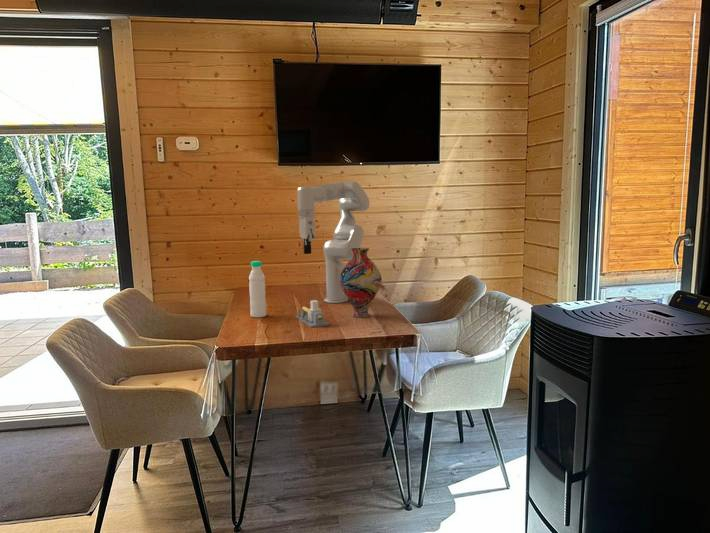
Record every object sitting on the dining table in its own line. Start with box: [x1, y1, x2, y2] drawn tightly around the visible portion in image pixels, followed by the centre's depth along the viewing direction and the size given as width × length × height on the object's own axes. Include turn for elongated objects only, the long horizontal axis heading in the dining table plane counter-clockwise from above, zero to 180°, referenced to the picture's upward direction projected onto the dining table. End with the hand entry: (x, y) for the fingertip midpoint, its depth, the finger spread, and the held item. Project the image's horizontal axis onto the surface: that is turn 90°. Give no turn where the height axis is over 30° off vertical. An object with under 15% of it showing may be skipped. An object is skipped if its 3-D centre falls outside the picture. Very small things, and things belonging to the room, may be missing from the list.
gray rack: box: [295, 306, 330, 328], centre depth 206 cm, size 20×8×5 cm, turn 25°
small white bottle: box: [308, 299, 322, 321], centre depth 203 cm, size 4×5×8 cm
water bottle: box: [248, 260, 267, 318], centre depth 216 cm, size 7×7×25 cm
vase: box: [339, 247, 383, 318], centre depth 213 cm, size 19×19×30 cm
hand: (307, 253), depth 223 cm, fingers closed
